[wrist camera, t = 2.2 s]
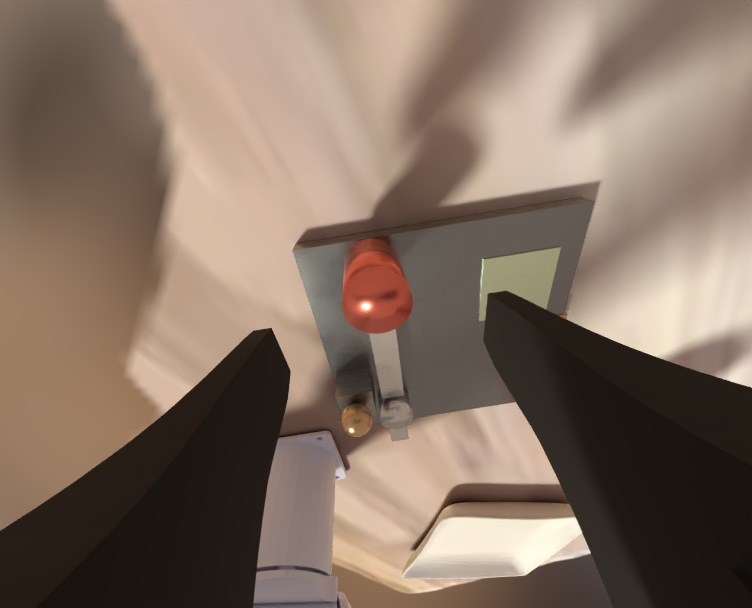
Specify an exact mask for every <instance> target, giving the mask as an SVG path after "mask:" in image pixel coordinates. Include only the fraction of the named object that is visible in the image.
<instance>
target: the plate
mask: <svg viewBox="0 0 752 608" xmlns="http://www.w3.org/2000/svg"><path fill="white" fill-rule="evenodd" d="M594 202H595V201H592V200H589V199H586V198H583V197H578V198H572V199H566V200H560V201H554V202H548V203H542V204H536V205H529V206H523V207H517V208H511V209H505V210H499V211H493V212H487V213H481V214H474V215H468V216H462V217H456V218H450V219H444V220H438V221H432V222H426V223H419V224H413V225H407V226H401V227H395V228H389V229H383V230H377V231H371V232H364V233H358V234H352V235H346V236H340V237H334V238H328V239H322V240H316V241H310V242H303V243H297V244H295V246H294V249H293V253H294V257H295V260H296V263H297V266H298V269H299V272H300V275H301V278H302V281H303V284H304V287H305V290H306V294H307V297H308V300H309V303H310V306H311V309H312V312H313V315H314V318H315V321H316V324H317V327H318V331H319V334H320V337H321V340H322V343H323V346H324V349H325V352H326V355H327V358H328V361H329V364H330V367H331V371H332V374H333V377H334V380H335V383H336V387H335V399H336V402H337V405H338V408H339V411H340V414H341V424H342V427H343V429H344V431H345V432H346V433H347V434H348V435H350V436H353V437H360V436H363V435H365V434H366V433H367V432H368V431H369V430H370V428H371V426H372V424H378V423H381V422H380V413H379V403H378V398H379V396H380V395H381V390H380V385H379V380H378V375H377V370H376V365H375V360H374V355H373V350H372V345H371V340H370V335H369V333H366V332H362V331H360V330H358V329H356V328H354V327H353V326H352V325H351V324H350V323H349V322H348V321H347V319H346V318H345V316H344V313H343V309H342V300H343V277H344V260H345V256H346V254H347V252H348V250H349V249H350V248H351V247H352V246H353V245H354V244H355V243H357V242H359V241H361V240H364V239H369V238H375V239H380V240H383V241H385V242H387V243H389V244H390V245H391V246H392V247H393V248H394V249H395V251H396V253H397V255H398V258H399V261H400V264H401V266H402V269H403V272H404V275H405V277H406V280H407V283H408V286H409V289H410V291H411V294H412V298H413V307H412V311H411V313H410V315H409V317H408V318H407V320H406V321H405V322H404V323H403V324H402V325H401V326H399V327H398V328H396V335H397V343H398V351H399V358H400V366H401V374H402V382H403V389H404V391H406V392H407V393H408V395H409V399H410V404H411V409H412V413H413V418H416V417H423V416H429V415H435V414H442V413H448V412H455V411H461V410H467V409H474V408H480V407H487V406H493V405H500V404H506V403H512V402H516V401H515V399H514V398H513V396H512V395H511V393H510V391H509V390H508V388H507V386H506V385H505V383H504V382H503V380H502V378H501V377H500V375H499V373H498V372H497V370H496V368H495V366H494V364H493V362H492V360H491V358H490V356H489V353H488V351H487V349H486V346H485V344H484V341H483V338H484V327H485V317H486V306H487V296H488V293H494V292H500V291H509V292H511V293H513V294H516V295H518V296H520V297H522V298H524V299H526V300H528V301H530V302H532V303H534V304H536V305H538V306H540V307H542V308H544V309H546V310H548V311H550V312H552V313H554V314H556V315H558V316H560V317H562V318H564V319H566V315H567V314H563V312H564V309H565V305H566V302H567V298H568V295H569V291H570V287H571V284H572V280H573V277H574V273H575V270H576V266H577V263H578V259H579V255H580V252H581V248H582V245H583V241H584V238H585V234H586V230H587V227H588V223H589V220H590V216H591V213H592V209H593V206H594Z"/></svg>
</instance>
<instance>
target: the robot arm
mask: <svg viewBox="0 0 752 608" xmlns="http://www.w3.org/2000/svg"><path fill="white" fill-rule="evenodd" d="M483 341H484V344H485V346H486V349H487V351H488V353H489V356H490V358H491V360H492V362H493V364H494V366H495V368H496V370H497V372H498V373H499V375H500V377H501V378H502V380H503V382H504V383H505V385H506V386H507V388H508V390H509V391H510V393H511V395H512V396H513V398H514V399H515V401H516V403H517V404H518V406H519V408H520V409H521V411H522V412H523V414H524V416H525V417H526V419H527V421H528V422H529V424H530V425H531V427H532V429H533V431H534V432H535V434H536V436H537V438H538V439H539V441H540V443H541V445H542V447H543V449H544V451H545V453H546V455H547V458H548V460H549V462H550V464H551V466H552V468H553V470H554V472H555V474H556V476H557V478H558V480H559V482H560V485H561V487H562V489H563V491H564V493H565V495H566V497H567V500H568V502H569V504H570V506H571V508H572V510H573V513H574V515H575V517H576V520H577V522H578V524H579V526H580V529H581V531H582V533H583V536H584V538H585V540H586V542H587V545H588V547H589V549H590V552H591V554H592V556H593V559H594V561H595V564H596V566H597V568H598V571H599V573H600V576H601V578H602V581H603V583H604V586H605V588H606V590H607V593H608V596H609V598H610V601H611V603H612V605H613V608H752V388H751V387H747V386H744V385H740V384H737V383H733V382H730V381H727V380H724V379H721V378H717V377H714V376H711V375H708V374H705V373H701V372H698V371H695V370H692V369H689V368H686V367H683V366H680V365H677V364H674V363H671V362H668V361H665V360H663V359H660V358H657V357H654V356H652V355H649V354H646V353H644V352H641V351H638V350H636V349H633V348H630V347H628V346H625V345H623V344H620V343H618V342H615V341H613V340H611V339H608V338H606V337H604V336H601V335H599V334H597V333H595V332H592V331H590V330H588V329H585V328H583V327H581V326H579V325H577V324H575V323H573V322H570V321H568V320H566V319H564V318H562V317H560V316H558V315H556V314H554V313H552V312H550V311H548V310H546V309H544V308H542V307H540V306H538V305H536V304H534V303H532V302H530V301H528V300H526V299H524V298H522V297H520V296H518V295H516V294H513V293H511V292H509V291H500V292H494V293H488V296H487V306H486V317H485V327H484V338H483ZM290 372H291V371H290V369H289V366H288V364H287V362H286V360H285V357H284V355H283V353H282V351H281V348H280V346H279V344H278V342H277V339H276V337H275V335H274V333H273V330H272V328H268V329H262V330H256V331H253V332H252V333H250V334H249V335H248V336H247V337H246V338H245V339H244V340H243V341H242V342H241V343H240V344H239V345H237V346H236V347H235V348H234V349H233V350H232V351H231V352H230V353H229V354H228V355H227V356H226V357H225V358H224V359H223V360H222V361H221V362H220V363H219V364H218V365H217V366H216V367H215V368H214V369H213V370H212V371H211V372H210V373H209V374H208V375H207V376H206V377H205V378H204V379H203V380H202V381H200V382H199V383H198V384H197V385H196V386H195V387H194V388H193V389H192V390H191V391H189V392H188V393H187V394H186V395H185V396H184V397H183V398H182V399H181V400H180V401H178V402H177V403H176V404H175V405H174V406H173V407H172V408H171V409H169V410H168V411H167V412H166V413H165V414H164V415H162V416H161V417H160V418H159V419H158V420H156V421H155V422H154V423H153V424H152V425H150V426H149V427H148V428H147V429H145V430H144V431H143V432H141V433H140V434H139V435H138V436H136V437H135V438H134V439H133V440H131V441H130V442H129V443H127V444H126V445H125V446H124V447H122V448H121V449H120V450H118V451H117V452H115V453H114V454H113V455H112V456H110V457H108V458H107V459H106V460H104V461H103V462H102V463H100V464H99V465H97V466H96V467H95V468H93V469H92V470H90V471H89V472H88V473H86V474H85V475H84V476H82V477H81V478H79V479H78V480H77V481H75V482H74V483H72V484H71V485H69V486H68V487H66V488H65V489H64V490H62V491H61V492H59V493H58V494H56V495H55V496H53V497H52V498H50V499H49V500H47V501H46V502H44V503H43V504H41V505H40V506H38V507H37V508H35V509H34V510H32V511H30V512H29V513H27V514H26V515H24V516H23V517H21V518H20V519H18V520H17V521H15V522H13V523H12V524H10V525H9V526H7V527H6V528H4V529H3V530H1V531H0V608H351V606H350V604H349V602H348V601H347V598H346V596H345V595H344V593H343V592H337V587H338V577H336V576H331V571H332V547H333V523H334V499H335V480H338V479H344V478H346V476H347V472H346V470H345V467H344V465H343V462H342V460H341V457H340V455H339V452H338V449H337V447H336V444H335V442H334V439H333V437H332V434H331V433H330V432H329V431H320V432H314V433H307V434H301V435H294V436H288V437H282V438H278V437H279V433H280V429H281V425H282V421H283V417H284V413H285V409H286V404H287V400H288V392H289V383H290Z"/></svg>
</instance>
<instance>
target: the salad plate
mask: <svg viewBox="0 0 752 608" xmlns="http://www.w3.org/2000/svg"><path fill="white" fill-rule="evenodd" d="M581 533H582V531H581V529H580V526H579V524H578V522H577V520H576V517H575V515H574V513H573V510H572V508H571V506H570V504H564V503H547V502H464V503H455V504H452V505H449V506H447V507H446V508H444V509H443V510H442V512H441V513H440V515H439V517H438V518H437V520H436V522H435V523H434V525H433V527H432V528H431V530H430V531H429V532H428V534H427V535H426V537H425V538H424V540H423V541H422V542H421V544H420V545H419V547H418V548H417V549H416V550H415V552H414V553H413V554H412V555H411V557H410V558H409V560H408V562H407V563H406V565H405V567H404V570H403V573H402V578H403V579H471V578H491V577H506V576H524V575H526V574H528V573H529V572H531V571H532V570H533V569H535V568H536V567H538V566H539V565H540V564H542V563H543V562H545V561H546V560H547V559H549V558H550V557H552V556H553V555H554V554H556V553H557V552H558V551H560V550H561V549H562V548H564V547H565V546H566V545H567V544H569V543H570V542H571V541H572V540H574V539H575V538H576V537H578V536H579V535H580V534H581Z"/></svg>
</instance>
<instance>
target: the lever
mask: <svg viewBox="0 0 752 608" xmlns="http://www.w3.org/2000/svg"><path fill="white" fill-rule="evenodd" d="M412 307H413V298H412V294H411V291H410V289H409V286H408V283H407V280H406V277H405V275H404V272H403V269H402V266H401V264H400V261H399V258H398V255H397V253H396V251H395V249H394V248H393V247H392V246H391V245H390V244H389V243H387V242H385V241H383V240H380V239H375V238H369V239H364V240H361V241H359V242H357V243H355V244H354V245H353V246H352V247H351V248H350V249H349V250H348V252H347V254H346V256H345V260H344V277H343V300H342V309H343V313H344V316H345V318H346V319H347V321H348V322H349V323H350V324H351V325H352V326H353V327H354V328H356V329H358V330H360V331H362V332H366V333H369V335H370V340H371V345H372V350H373V355H374V360H375V365H376V370H377V375H378V380H379V385H380V390H381V395H380V396H379V398H378V403H379V413H380V422H381V425H382V426H383V427H385V428H387V429H390V434H391V439H392V441H398V440H404V439H409V437H408V430H407V426H408V425H410V424H411V423H412V421H413V413H412V409H411V404H410V399H409V395H408V393H407V392H406V391H404V389H403V382H402V374H401V366H400V358H399V351H398V343H397V335H396V328H398V327H399V326H401V325H402V324H403V323H404V322H405V321H406V320H407V318H408V317H409V315H410V313H411V311H412Z"/></svg>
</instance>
